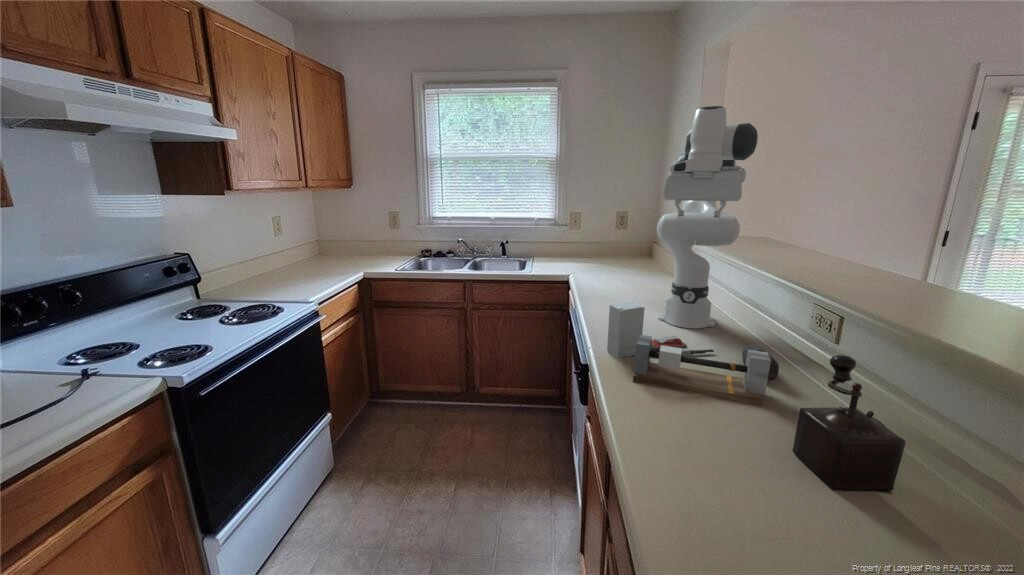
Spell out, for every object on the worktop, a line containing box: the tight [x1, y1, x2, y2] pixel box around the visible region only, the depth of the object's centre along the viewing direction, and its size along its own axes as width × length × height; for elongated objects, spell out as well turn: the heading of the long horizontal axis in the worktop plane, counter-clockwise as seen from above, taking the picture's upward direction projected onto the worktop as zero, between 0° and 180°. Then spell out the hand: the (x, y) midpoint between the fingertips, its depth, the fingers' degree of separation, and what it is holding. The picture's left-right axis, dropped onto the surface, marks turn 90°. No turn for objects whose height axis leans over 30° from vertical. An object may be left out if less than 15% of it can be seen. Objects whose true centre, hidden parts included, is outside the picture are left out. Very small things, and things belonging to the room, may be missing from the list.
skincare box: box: [606, 301, 646, 359], centre depth 119 cm, size 8×6×15 cm
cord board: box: [632, 334, 771, 406], centre depth 101 cm, size 10×29×10 cm, turn 66°
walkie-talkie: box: [651, 335, 714, 357], centre depth 122 cm, size 9×4×20 cm
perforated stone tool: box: [741, 344, 780, 382], centre depth 109 cm, size 15×5×7 cm, turn 170°
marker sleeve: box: [657, 345, 682, 369], centre depth 104 cm, size 4×5×4 cm
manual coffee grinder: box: [792, 354, 906, 492], centre depth 72 cm, size 16×11×18 cm
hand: (698, 217), depth 117 cm, fingers open, 8 cm apart
